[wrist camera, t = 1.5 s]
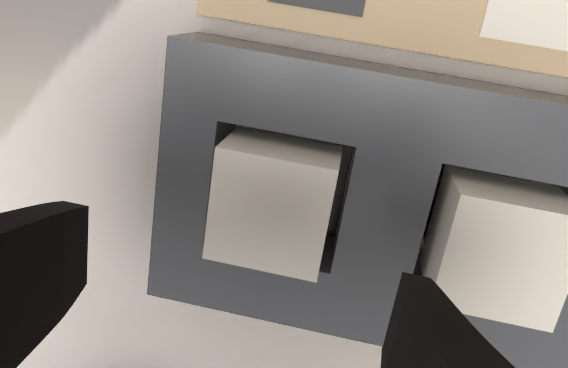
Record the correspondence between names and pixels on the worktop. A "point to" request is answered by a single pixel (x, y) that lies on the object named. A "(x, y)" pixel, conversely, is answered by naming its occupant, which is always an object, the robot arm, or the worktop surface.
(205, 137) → the button board
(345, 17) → the pattern card
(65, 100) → the worktop surface
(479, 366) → the robot arm
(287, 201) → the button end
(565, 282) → the button middle
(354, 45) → the worktop surface
